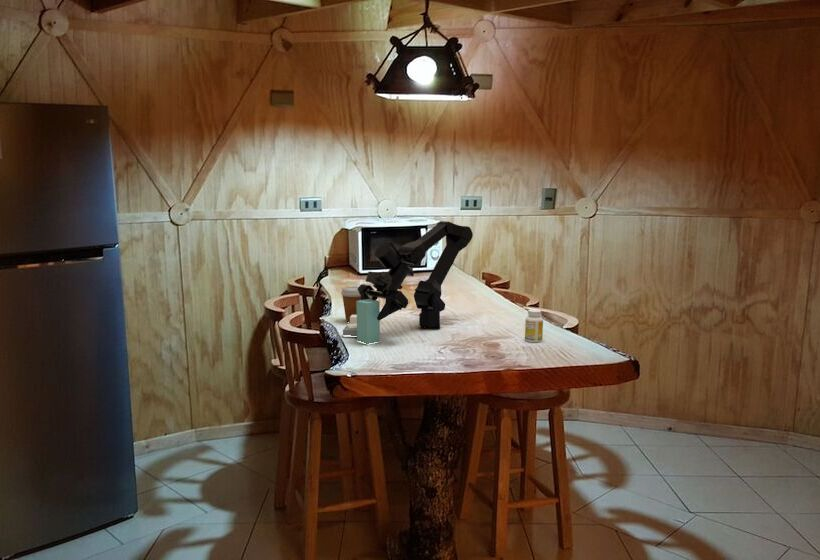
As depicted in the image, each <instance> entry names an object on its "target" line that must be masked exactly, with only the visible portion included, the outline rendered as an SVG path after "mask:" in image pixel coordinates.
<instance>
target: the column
mask: <svg viewBox="0 0 820 560" xmlns="http://www.w3.org/2000/svg"><path fill="white" fill-rule="evenodd" d="M356 305H357V338H356V341H357V340H358V341H361V342H364V343H366V344H369V343H374V342H379V341H380V342H381V327H380V326H381V325H380V324H381V320H380V321H378V320H377V317H378V315H379V313H380V311H381V307H380V300H378V299H376V300H372V299H366V300H360V301H356ZM380 342H379V343H380Z"/></svg>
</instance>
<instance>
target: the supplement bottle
mask: <svg viewBox="0 0 820 560" xmlns="http://www.w3.org/2000/svg"><path fill="white" fill-rule="evenodd" d="M524 321H525V323H524V327H525V328H524V330H525V331H524V340H525V341H526V342H529V343H541V342H542V341H543V329H544V319H543V317H542V310H541V309H539V308H533V309H532V308H530V309H528V310H527V316H526V317H525V320H524Z"/></svg>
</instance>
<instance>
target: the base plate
mask: <svg viewBox="0 0 820 560" xmlns="http://www.w3.org/2000/svg"><path fill="white" fill-rule="evenodd" d="M343 335H351V336H357V315H351V316H350V322H349V323H346V325H345V327H344V328H343V329H342V336H343Z"/></svg>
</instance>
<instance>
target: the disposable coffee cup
mask: <svg viewBox="0 0 820 560" xmlns="http://www.w3.org/2000/svg"><path fill="white" fill-rule="evenodd" d="M358 288H359V286H357V285H356V286H355V285H354V286H344V287H343V288H341V292H340V294H341V296H342V302H343V310H344V314H345V322H346V321H347V322H350V316H351V315H357V305H356V301H360V300H361V295H360V294H359V291H358V290H357V289H358Z"/></svg>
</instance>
